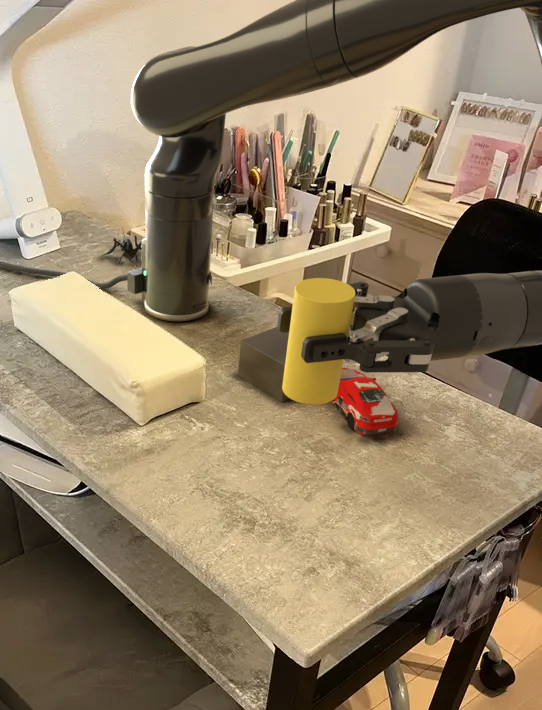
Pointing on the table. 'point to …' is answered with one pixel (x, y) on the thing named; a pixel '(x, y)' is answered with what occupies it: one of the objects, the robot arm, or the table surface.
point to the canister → (312, 318)
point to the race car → (364, 404)
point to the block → (265, 361)
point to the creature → (126, 248)
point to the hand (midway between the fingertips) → (292, 335)
